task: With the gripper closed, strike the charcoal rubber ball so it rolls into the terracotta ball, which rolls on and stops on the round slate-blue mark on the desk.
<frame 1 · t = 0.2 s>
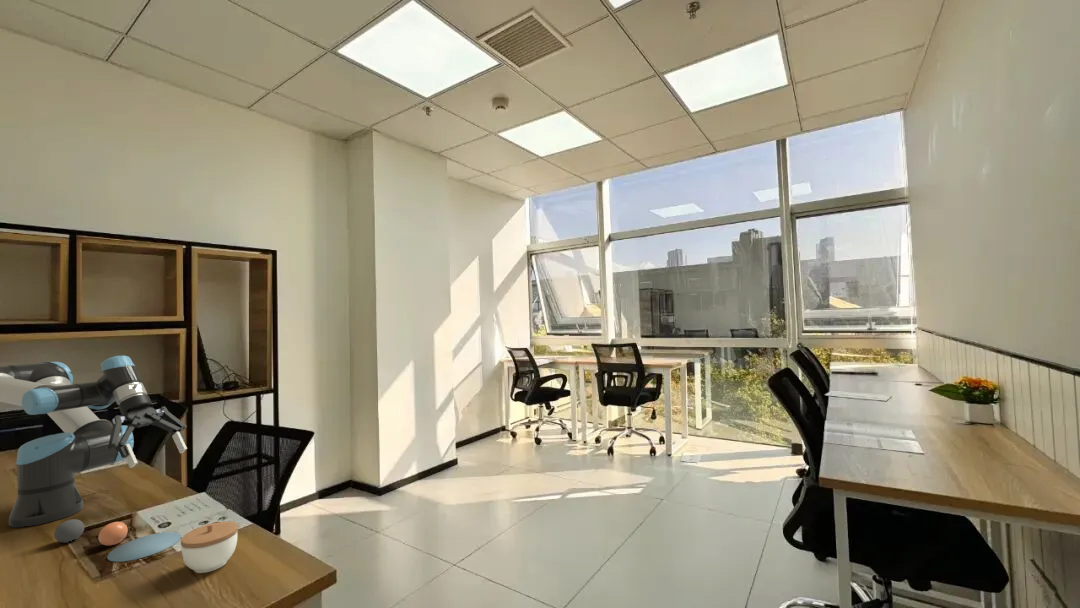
hand: (159, 458, 139), 15 cm above the table, tool tilted 35°, fingers open, 13 cm apart
charcoal ball: (69, 530, 119), on the table
terracotta ball: (113, 533, 116), on the table
lidded jar: (211, 566, 104), on the table
slate mark: (145, 546, 114), on the table
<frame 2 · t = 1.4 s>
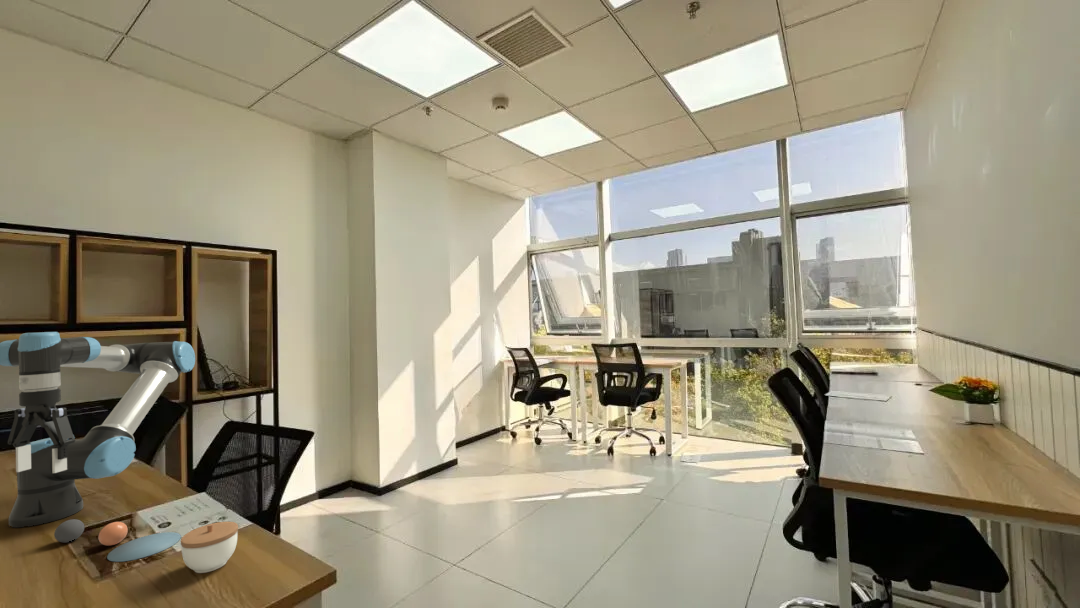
hand: (41, 470, 121), 18 cm above the table, tool pointing down, fingers open, 11 cm apart
nothing on the table moved.
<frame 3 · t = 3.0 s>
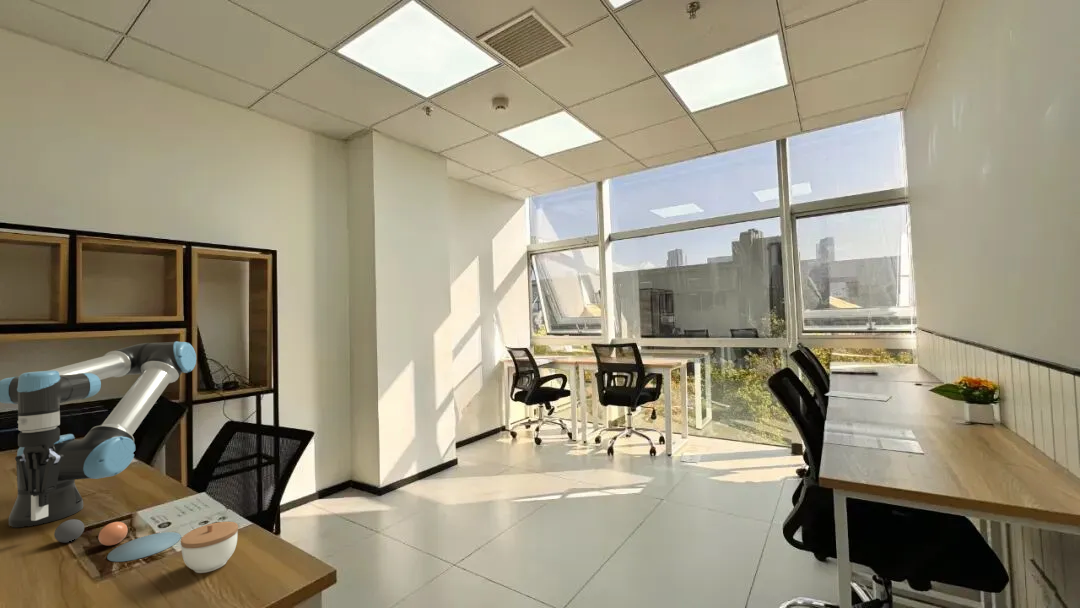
hand: (39, 518, 120), 6 cm above the table, tool pointing down, fingers closed
nothing on the table moved.
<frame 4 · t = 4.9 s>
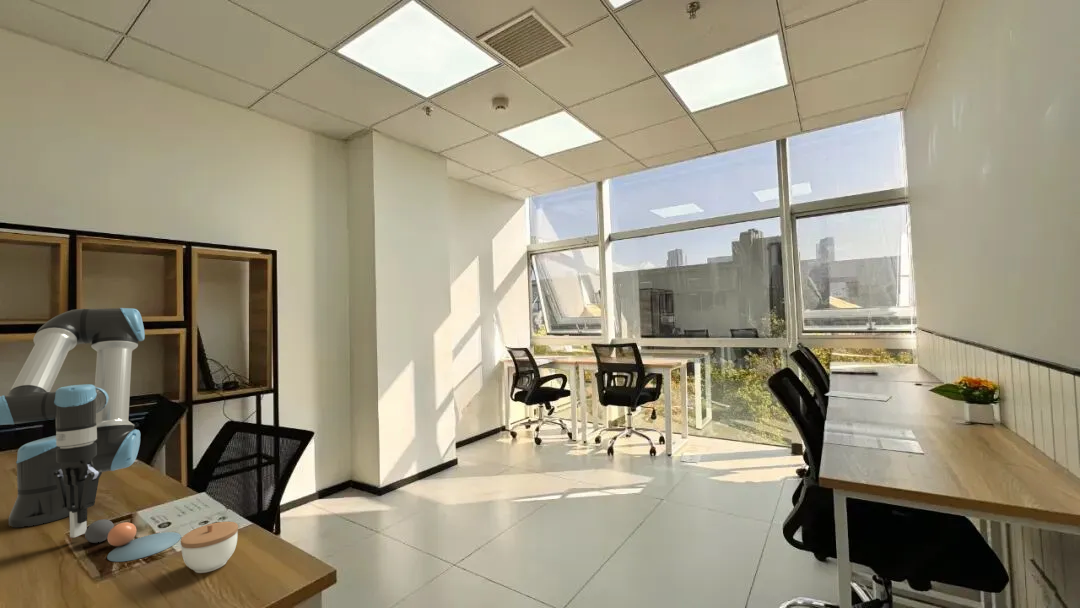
hand: (78, 534, 118), 2 cm above the table, tool pointing down, fingers closed
charcoal ball: (99, 531, 118), on the table
terracotta ball: (122, 534, 116), on the table
everything else where it was.
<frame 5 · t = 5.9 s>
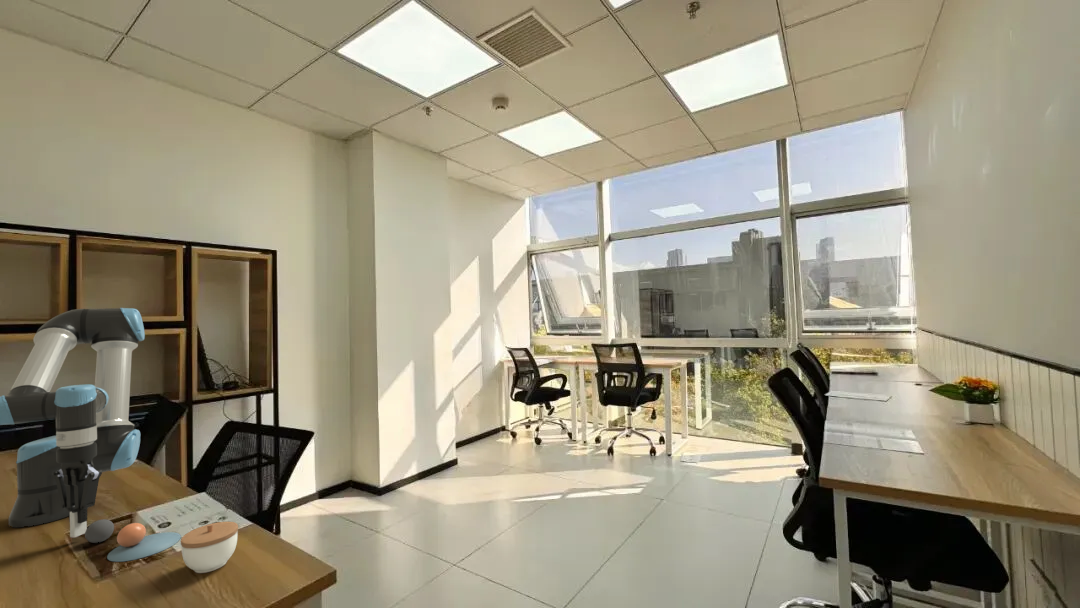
hand: (78, 534, 118), 2 cm above the table, tool pointing down, fingers closed
terracotta ball: (131, 534, 115), on the table
everything else where it was.
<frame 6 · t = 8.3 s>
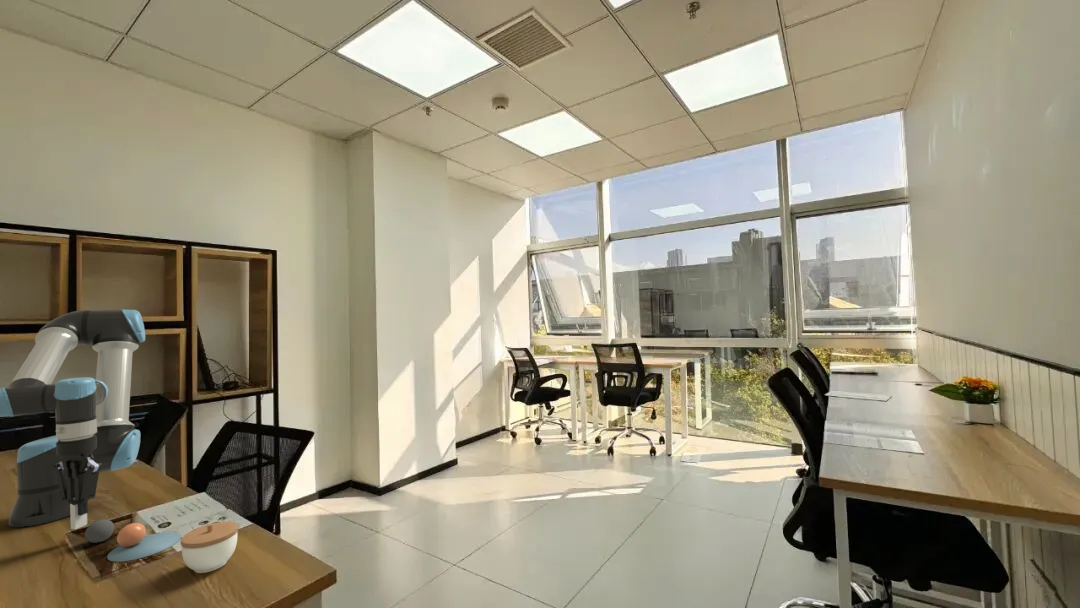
hand: (79, 526, 119), 4 cm above the table, tool pointing down, fingers closed
nothing on the table moved.
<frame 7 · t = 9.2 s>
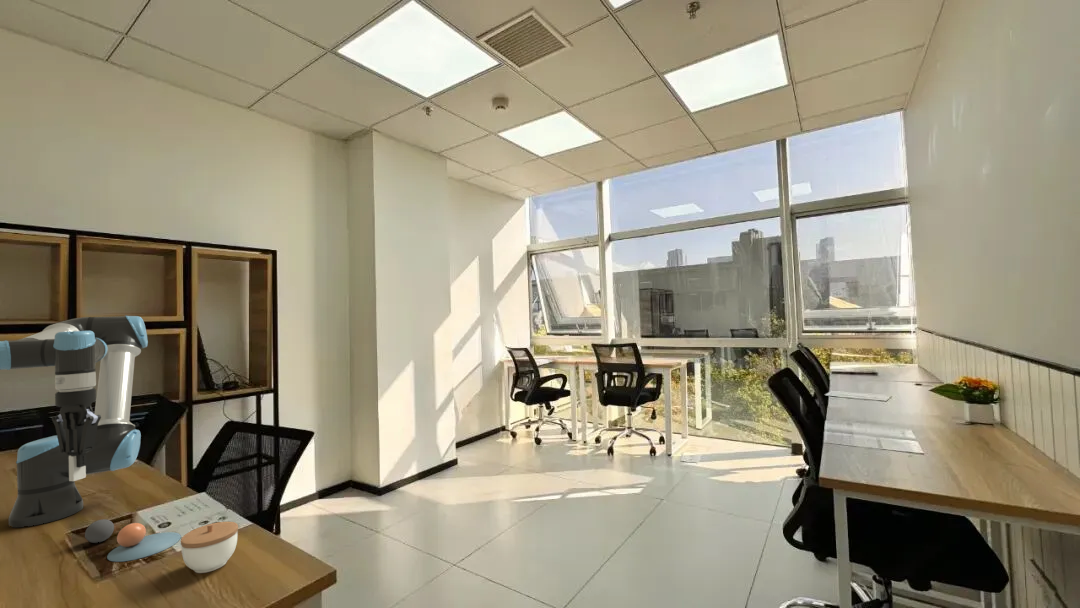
hand: (77, 479, 118), 16 cm above the table, tool pointing down, fingers closed
nothing on the table moved.
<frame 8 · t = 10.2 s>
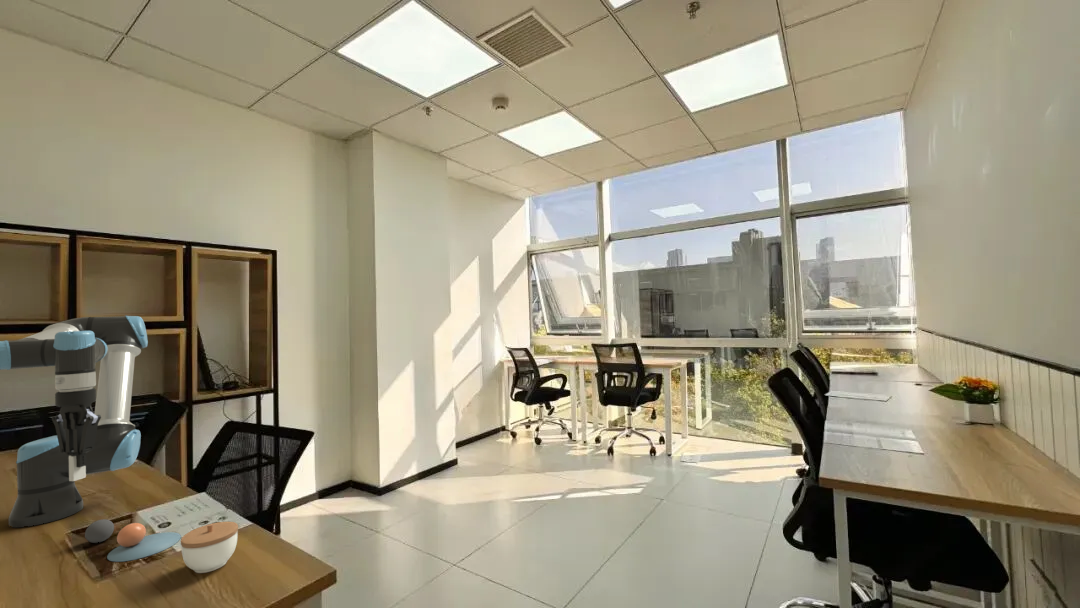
hand: (77, 479, 118), 16 cm above the table, tool pointing down, fingers closed
nothing on the table moved.
at the end: terracotta ball 4.1 cm from the slate mark (horizontally); terracotta ball never touched the robot; charcoal ball first touched terracotta ball at 4.6 s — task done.
